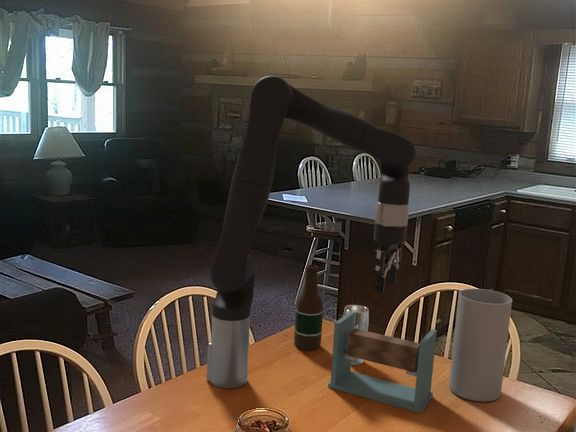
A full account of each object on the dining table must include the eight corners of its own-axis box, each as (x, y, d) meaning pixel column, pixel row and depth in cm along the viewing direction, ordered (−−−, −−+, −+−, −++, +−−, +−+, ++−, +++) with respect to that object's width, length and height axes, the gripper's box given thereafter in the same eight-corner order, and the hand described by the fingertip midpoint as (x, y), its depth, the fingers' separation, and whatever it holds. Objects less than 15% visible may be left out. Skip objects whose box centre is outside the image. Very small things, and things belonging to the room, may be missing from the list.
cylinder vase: (485, 408, 148) (497, 307, 144) (439, 390, 157) (449, 294, 152) (509, 393, 157) (520, 297, 153) (463, 376, 166) (473, 285, 161)
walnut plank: (347, 355, 155) (349, 332, 154) (353, 351, 158) (354, 328, 157) (414, 372, 147) (416, 348, 146) (418, 367, 150) (421, 343, 149)
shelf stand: (327, 387, 155) (332, 321, 152) (343, 373, 164) (348, 311, 161) (420, 413, 144) (427, 343, 141) (432, 396, 153) (439, 330, 150)
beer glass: (338, 363, 170) (342, 310, 167) (342, 354, 176) (345, 303, 174) (363, 367, 168) (368, 314, 165) (366, 357, 175) (370, 306, 172)
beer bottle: (308, 339, 186) (313, 261, 182) (326, 347, 180) (331, 267, 176) (288, 344, 181) (292, 264, 177) (305, 353, 175) (311, 270, 171)
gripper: (386, 215, 154) (380, 278, 157) (365, 223, 142) (359, 292, 145) (415, 220, 151) (409, 284, 154) (397, 228, 139) (390, 298, 141)
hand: (385, 288), depth 149 cm, fingers open, 8 cm apart
